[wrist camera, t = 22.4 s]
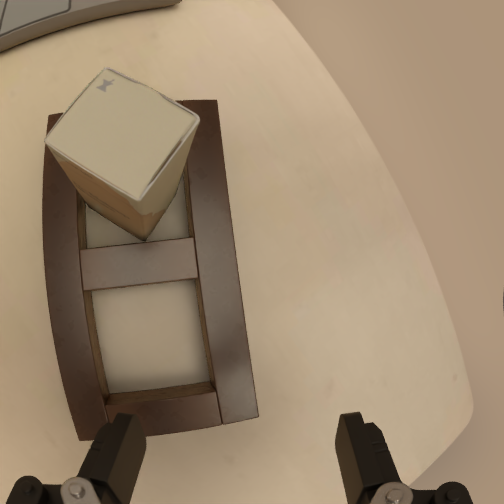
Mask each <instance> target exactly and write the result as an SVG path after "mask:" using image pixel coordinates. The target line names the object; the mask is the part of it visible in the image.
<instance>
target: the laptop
mask: <svg viewBox="0 0 504 504" xmlns="http://www.w3.org/2000/svg"><path fill="white" fill-rule="evenodd" d="M181 1H182V0H0V52H2V51H5V50H7V49H9V48H12V47H14V46H16V45H19V44H21V43H24V42H26V41H29V40H32V39H34V38H37V37H40V36H43V35H46V34H49V33H52V32H55V31H58V30H61V29H64V28H67V27H71V26H74V25H78V24H81V23H85V22H89V21H93V20H97V19H101V18H105V17H109V16H114V15H119V14H124V13H129V12H134V11H140V10H146V9H153V8H160V7H166V6H170V5H174V4H177V3H180V2H181Z"/></svg>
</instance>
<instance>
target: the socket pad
mask: <svg viewBox="0 0 504 504" xmlns="http://www.w3.org/2000/svg"><path fill="white" fill-rule="evenodd" d="M175 102H177V103H179V104H180V105H182V106H184V107H185V108H187V109H189V110H191V111H192V112H194V113H196V114H197V115H198V116H199V118H200V122H199V125H198V127H197V130H196V132H195V135H194V138H193V141H192V144H191V147H190V150H189V153H188V156H187V159H186V162H185V166H184V169H183V175H184V186H185V197H186V208H187V217H188V227H189V236H190V238H180V239H171V240H161V241H152V242H142V243H133V244H124V245H115V246H107V247H98V248H89V249H87V242H86V224H85V201H84V199H83V198H82V196H81V195H80V193H79V192H78V191H77V189H76V188H75V186H74V185H73V183H72V182H71V181H70V179H69V178H68V176H67V175H66V173H65V172H64V170H63V169H62V167H61V166H60V164H59V163H58V161H57V160H56V158H55V157H54V155H53V154H52V152H51V151H50V149H49V148H48V146H47V145H46V143H45V155H44V170H43V198H42V224H43V251H44V266H45V278H46V289H47V297H48V306H49V313H50V320H51V326H52V333H53V338H54V344H55V349H56V354H57V359H58V364H59V369H60V373H61V378H62V382H63V386H64V390H65V394H66V398H67V402H68V405H69V409H70V412H71V416H72V419H73V422H74V426H75V429H76V432H77V435H78V438H79V440H80V441H91V440H94V438H95V436H96V434H97V432H98V430H99V429H100V428H101V427H102V426H103V425H105V424H106V423H113V421H114V419H115V416H116V414H117V413H118V412H121V413H129V414H136V415H137V416H138V418H139V421H140V424H141V427H142V429H143V432H144V435H145V437H146V436H155V435H163V434H171V433H178V432H185V431H191V430H197V429H203V428H209V427H214V426H219V425H222V424H223V425H224V424H229V423H234V422H239V421H243V420H248V419H252V418H257V417H259V414H258V407H257V400H256V393H255V387H254V380H253V373H252V366H251V359H250V352H249V345H248V338H247V331H246V324H245V317H244V310H243V302H242V295H241V288H240V280H239V273H238V265H237V258H236V250H235V242H234V235H233V227H232V219H231V211H230V203H229V195H228V187H227V179H226V171H225V163H224V155H223V146H222V138H221V129H220V121H219V112H218V103H217V100H183V101H181V100H180V101H175ZM62 115H63V113H58V114H52V115H49V117H48V125H47V133H46V136H47V134H48V133H49V132H50V131H51V129H52V128H53V127H54V125H55V124H56V123H57V121H58V120H59V118H60V117H61V116H62ZM191 279H195V285H196V293H197V300H198V307H199V314H200V321H201V328H202V334H203V341H204V347H205V353H206V360H207V366H208V371H209V377H210V381H208V382H202V383H196V384H189V385H183V386H176V387H168V388H161V389H153V390H145V391H135V392H126V393H115V394H109V390H108V386H107V381H106V377H105V372H104V367H103V363H102V358H101V352H100V347H99V341H98V336H97V330H96V323H95V317H94V310H93V303H92V295H91V291H95V290H104V289H114V288H123V287H131V286H140V285H149V284H158V283H166V282H175V281H183V280H191Z"/></svg>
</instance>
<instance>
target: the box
mask: <svg viewBox="0 0 504 504" xmlns="http://www.w3.org/2000/svg"><path fill="white" fill-rule="evenodd" d="M199 122H200V118H199V116H198V115H197V114H196V113H194V112H192V111H191V110H189V109H187V108H185V107H184V106H182V105H180V104H179V103H177V102H175V101H174V100H172V99H170V98H168V97H166V96H165V95H163V94H161V93H159V92H158V91H156V90H154V89H152V88H150V87H148V86H146V85H144V84H142V83H140V82H138V81H136V80H134V79H132V78H130V77H128V76H126V75H124V74H122V73H120V72H118V71H116V70H114V69H112V68H110V67H105V68H104V69H103V70H102V71H101V72H100V73H99V74H98V75H97V76H96V77H95V78H94V79H93V80H92V81H91V82H90V83H89V84H88V85H87V86H86V87H85V89H84V90H83V91H82V92H81V93H80V94H79V95H78V96H77V98H76V99H75V100H74V101H73V102H72V103H71V105H70V106H69V107H68V109H67V110H66V111H65V112H64V113H63V115H62V116H61V117H60V118H59V120H58V121H57V123H56V124H55V125H54V127H53V128H52V129H51V131H50V132H49V133H48V134H47V136H46V138H45V141H44V142H45V143H46V145H47V146H48V148H49V149H50V151H51V152H52V154H53V155H54V157H55V158H56V160H57V161H58V163H59V164H60V166H61V167H62V169H63V170H64V172H65V173H66V175H67V176H68V178H69V179H70V181H71V182H72V183H73V185H74V186H75V188H76V189H77V191H78V192H79V193H80V195H81V196H82V198H83V199H84V201H85V202H86V203H87V205H88V206H89V207H90V208H91V209H93V210H94V211H96V212H97V213H99V214H100V215H102V216H104V217H105V218H107V219H108V220H110V221H111V222H113V223H114V224H116V225H117V226H119V227H121V228H122V229H124V230H126V231H127V232H129V233H130V234H132V235H134V236H135V237H137V238H139V239H140V240H142V241H146V240H147V238H148V237H149V235H150V234H151V232H152V231H153V229H154V228H155V226H156V225H157V223H158V222H159V220H160V219H161V217H162V216H163V214H164V213H165V211H166V209H167V208H168V206H169V205H170V203H171V201H172V200H173V198H174V196H175V195H176V192H177V189H178V185H179V182H180V178H181V175H182V171H183V169H184V166H185V162H186V159H187V156H188V153H189V150H190V147H191V144H192V141H193V138H194V135H195V132H196V130H197V127H198V125H199Z"/></svg>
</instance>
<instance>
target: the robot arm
mask: <svg viewBox="0 0 504 504" xmlns="http://www.w3.org/2000/svg"><path fill="white" fill-rule="evenodd" d="M335 448H336V454H337V458H338V462H339V466H340V471H341V475H342V479H343V484H344V488H345V493H346V497H347V502H348V504H473V502H472V500H471V497H470V495H469V492H468V490H467V488H466V487H465V486H464V485H462V484H461V483H458V482H447V483H444V484H442V485H441V486H440V487H439V488H438V489H437V490H414V489H411V488H409V487H408V486H407V485H405V484H403V483H402V481H401V480H400V478H399V475H398V473H397V470H396V467H395V465H394V462H393V459H392V457H391V454H390V451H389V450H388V446H387V444H386V443H385V439H384V436H383V433H382V431H381V430H380V429H379V428H378V427H377V426H376V425H375V424H374V423H373V422H372V423H366V424H364V421H363V418H362V415H361V413H360V412H354V413H346V414H341V415H340V418H339V423H338V428H337V433H336V438H335ZM145 451H146V437H145V435H144V432H143V429H142V427H141V424H140V421H139V418H138V416H137V415H136V414H129V413H121V412H118V413H117V414H116V416H115V419H114V421H113V423H106V424H105V425H103V426H102V427H101V428H100V429H99V430H98V432H97V434H96V436H95V438H94V441H93V443H92V445H91V449H89V451H88V453H87V455H86V457H85V460H84V462H83V464H82V466H81V468H80V471H79V473H78V475H77V476H76V477H73V478H70V479H68V480H66V481H65V482H64V483H63V484H62V485H49V484H42V483H41V482H40V481H39V480H38V479H37V478H36V477H33V476H23V477H21V478H19V479H18V480H17V481H16V483H15V484H14V487H13V489H12V491H11V493H10V495H9V497H8V499H7V502H6V504H130V500H131V497H132V494H133V490H134V487H135V484H136V480H137V477H138V474H139V471H140V467H141V464H142V461H143V458H144V455H145Z"/></svg>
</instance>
